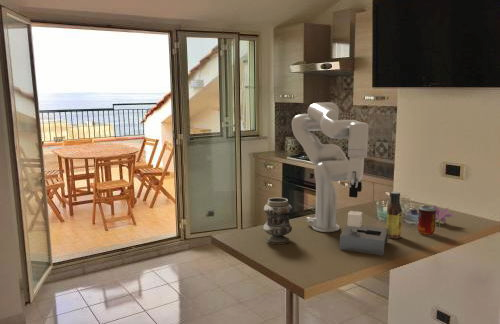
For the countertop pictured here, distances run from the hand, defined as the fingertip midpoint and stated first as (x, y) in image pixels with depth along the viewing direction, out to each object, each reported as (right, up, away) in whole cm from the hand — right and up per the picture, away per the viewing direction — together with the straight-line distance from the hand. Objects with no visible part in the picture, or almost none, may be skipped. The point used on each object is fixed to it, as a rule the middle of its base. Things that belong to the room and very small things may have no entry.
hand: (355, 194), depth 176 cm
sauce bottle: (+20, -20, +12) cm, 30 cm away
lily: (+47, -17, +29) cm, 58 cm away
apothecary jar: (-31, -21, +8) cm, 38 cm away
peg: (0, -21, +3) cm, 21 cm away
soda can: (+35, -19, +16) cm, 43 cm away
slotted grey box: (+4, -21, +2) cm, 22 cm away
